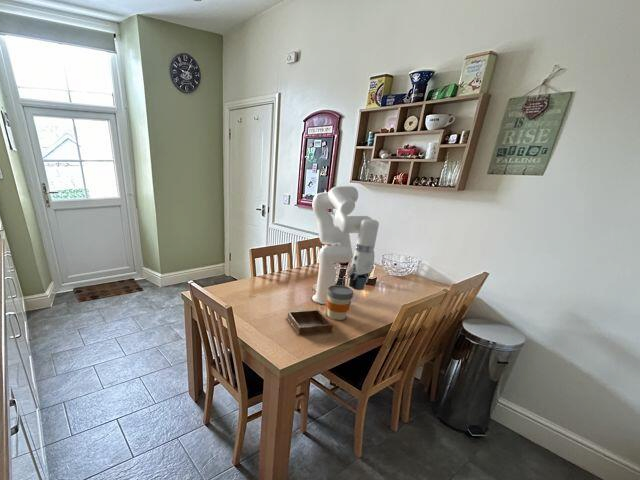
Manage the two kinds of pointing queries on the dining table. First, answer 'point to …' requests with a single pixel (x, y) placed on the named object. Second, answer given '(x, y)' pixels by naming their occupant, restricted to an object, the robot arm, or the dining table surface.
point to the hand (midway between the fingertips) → (358, 285)
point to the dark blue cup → (361, 282)
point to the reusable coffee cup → (338, 301)
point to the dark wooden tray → (309, 322)
